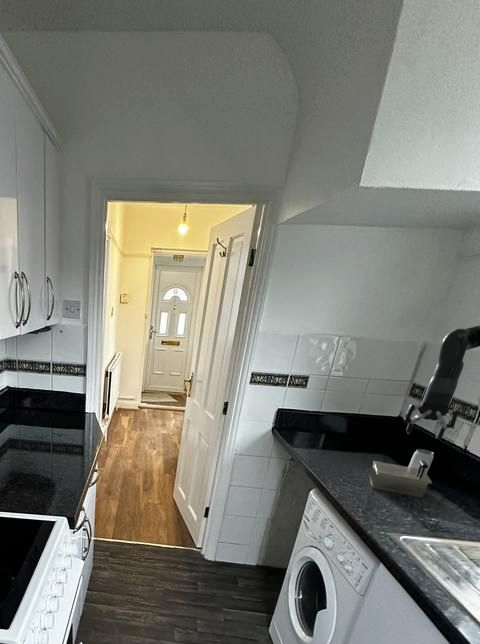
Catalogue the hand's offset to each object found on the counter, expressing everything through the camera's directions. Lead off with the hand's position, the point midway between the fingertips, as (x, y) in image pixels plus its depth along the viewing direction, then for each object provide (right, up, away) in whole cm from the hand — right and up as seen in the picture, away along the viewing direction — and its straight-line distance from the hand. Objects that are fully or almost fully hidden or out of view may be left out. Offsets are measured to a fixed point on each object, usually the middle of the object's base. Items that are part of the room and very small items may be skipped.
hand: (422, 435), depth 148 cm
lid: (0, -13, +10) cm, 17 cm away
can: (+13, -15, +22) cm, 30 cm away
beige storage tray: (-1, -18, +13) cm, 23 cm away
